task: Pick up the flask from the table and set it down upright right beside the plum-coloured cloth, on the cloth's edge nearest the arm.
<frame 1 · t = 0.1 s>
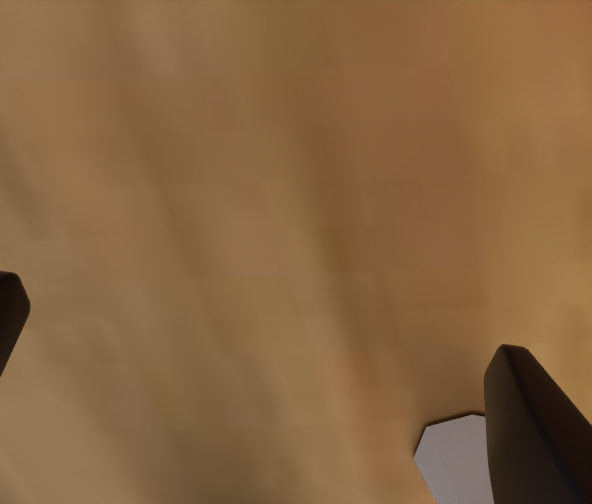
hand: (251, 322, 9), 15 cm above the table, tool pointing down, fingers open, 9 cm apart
flask: (470, 452, 30), on the table
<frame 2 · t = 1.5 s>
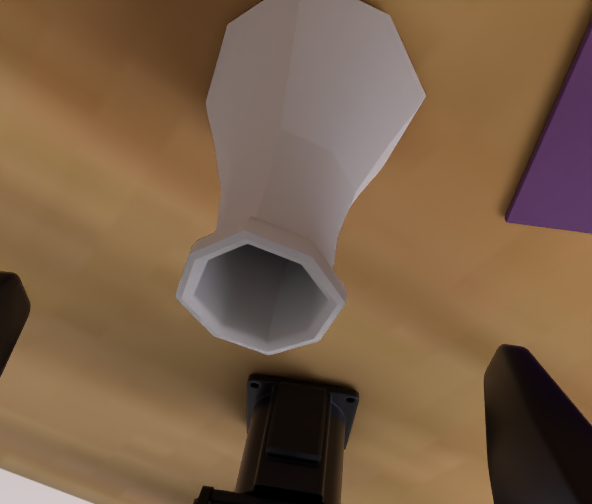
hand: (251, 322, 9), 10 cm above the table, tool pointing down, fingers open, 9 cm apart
flask: (313, 94, 17), on the table
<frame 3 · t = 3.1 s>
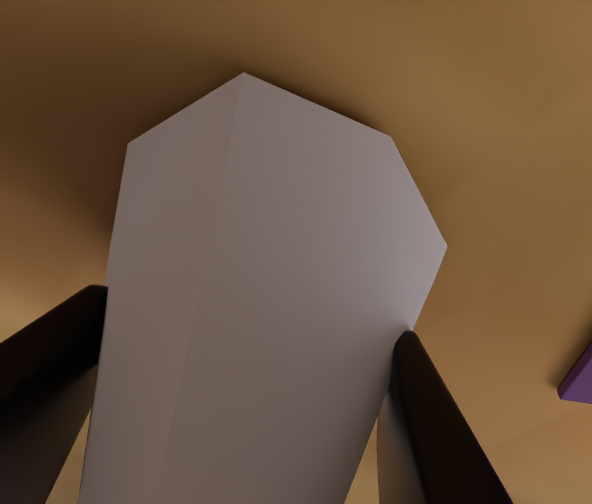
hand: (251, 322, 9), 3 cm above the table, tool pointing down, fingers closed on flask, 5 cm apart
flask: (273, 231, 11), on the table, touching gripper
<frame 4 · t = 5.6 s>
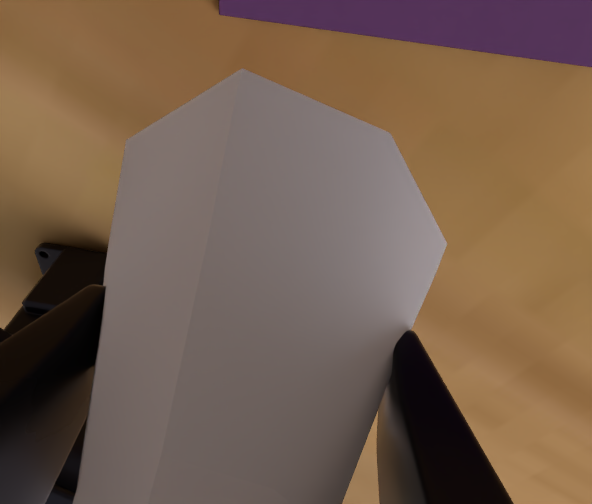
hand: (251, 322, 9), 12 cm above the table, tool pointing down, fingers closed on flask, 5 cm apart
flask: (272, 229, 11), point 10 cm above the table, touching gripper
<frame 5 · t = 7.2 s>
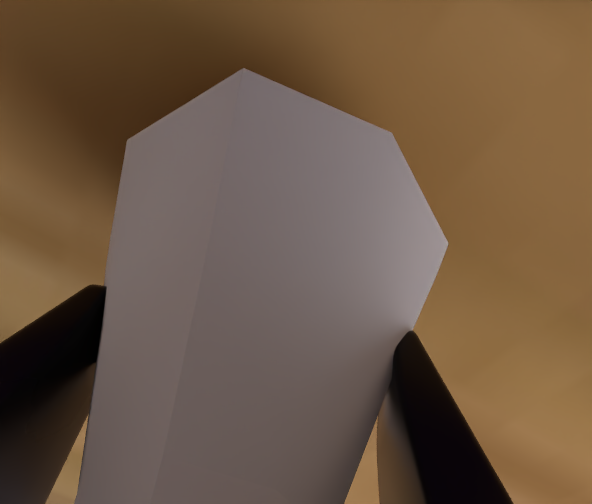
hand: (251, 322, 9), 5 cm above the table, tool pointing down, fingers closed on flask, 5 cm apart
flask: (273, 229, 11), point 2 cm above the table, touching gripper
when the fingers open (3 cm above the table, at t = 8.3 s): flask stays where it is, on the table.
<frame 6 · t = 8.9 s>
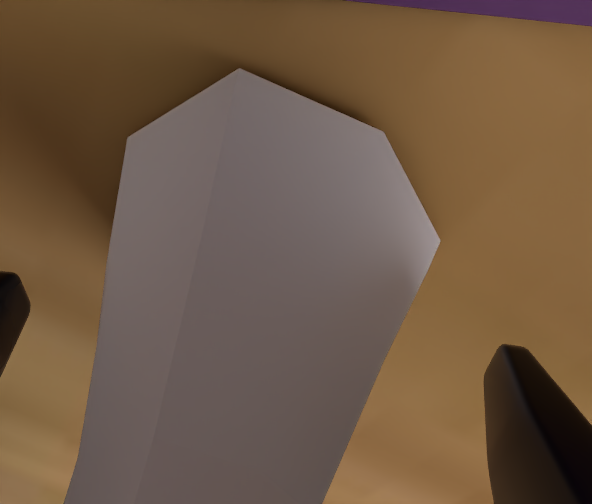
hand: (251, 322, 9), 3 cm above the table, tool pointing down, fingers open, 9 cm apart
flask: (270, 225, 11), on the table
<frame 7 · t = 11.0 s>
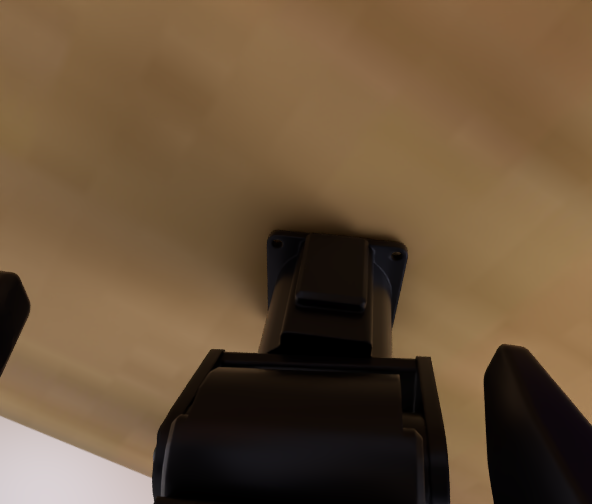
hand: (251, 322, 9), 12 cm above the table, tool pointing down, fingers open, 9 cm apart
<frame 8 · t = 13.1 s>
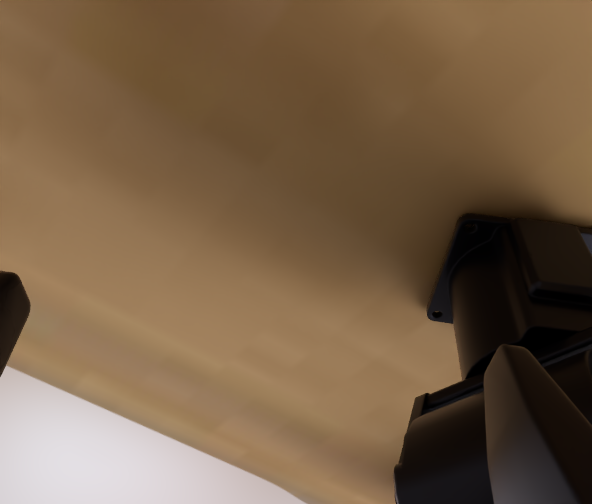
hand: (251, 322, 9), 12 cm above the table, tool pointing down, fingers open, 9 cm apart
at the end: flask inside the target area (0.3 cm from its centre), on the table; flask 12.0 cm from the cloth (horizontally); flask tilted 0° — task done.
